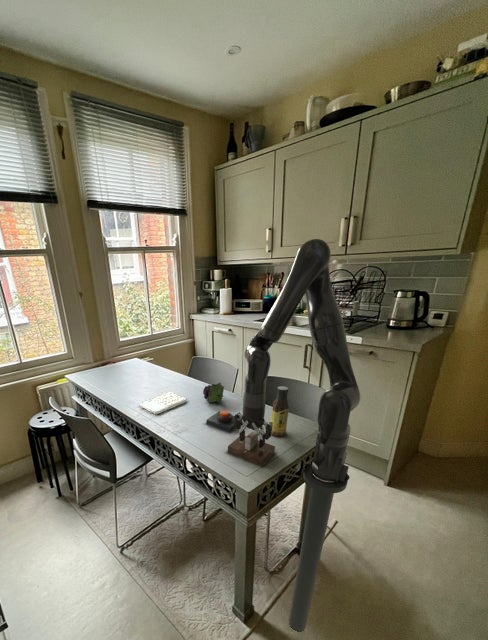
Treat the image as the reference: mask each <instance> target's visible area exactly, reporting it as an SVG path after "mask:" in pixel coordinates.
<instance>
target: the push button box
mask: <svg viewBox="0 0 488 640" xmlns="http://www.w3.org/2000/svg"><path fill="white" fill-rule="evenodd" d="M220 412H221V411H220V410H219V411H217V412H215V413H214V414H213V415H211V416H209V417H208V418H207V419H206V421H205V422H206V425H208V426H211V427H214V428H216V429H219V430H222V431H224V432H228V433H231V432H232V431H234V430H236V429H235V415H233V414H232V412H231V413H230V412H229V416H228V417H227V418H223V417H221V416H220ZM241 424H243V420H242V419H241Z"/></svg>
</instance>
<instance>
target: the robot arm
mask: <svg viewBox="0 0 488 640" xmlns="http://www.w3.org/2000/svg"><path fill="white" fill-rule="evenodd" d="M330 248H331V247H330V246H329V244H328V243H327V242H326V241H325V240H323V239H320V238H312V239H309V240H307V241H305V242H304V243H302V244H301V245H300V246H299V248H298V250H297V252H296V254H295V259H294V261H293V264H292V267H291V270H290V272H289V275H288V277H287V279H286V281H285V283H284V285H283V287H282V289H281V291H280V293H279V294H278V296H277V298H276V300H275V301H274V303H273V305H272V307H271V308H270V310H269V311H268V313H267V315H266V317H265V318H264V321H263V322H262V325H261V326H260V328H259V330H258V331H257V332H256V334H255V335H254V336H253V337H252V338H251V340H250V341H249V342H248V344H247V346H246V348H245V349H244V350H245V351H244V359H245V361H246V362H247V374H246V375H245V378H244V389H243V390H244V391H243V397H242V413H241V412H237V413H236V414H234V416H235V429H234V430H237V431H238V432H239V434H238V435H239V436H238V437H239V439H240V441H243V440H244V439H245V436H246V428H247V429H248V430H252V431H253V430H255V431H256V433H257V434H258V440H259V448H262V447H263V446H264V445H265V443H266V441H268V440H269V439H270V438H271V437H272V434H271V433H272V426H273V423H272V422H271V421H269V422H268V421H265V414H266V400H267V393H266V392H267V380H268V379H267V378H268V375H269V373H270V372H269V371H270V368H271V362H272V361H271V354H270V352H269V350H270V348H271V347H272V346H273V344H275V343H278V342H279V341H280V340H281V338H282V337H283V335H284V333H285V332H286V330H287V328H288V327H289V324H290V323H291V321H292V319H293V317H294V315H295V314H296V311H297V309H298V307H299V305H300V303H301V302H302V299H303V297H304V296H305V299H306V311H307V321H308V326H309V332H310V337H311V342H312V345H313V348H314V350H315V352H316V354H317V355H318V357H319V358H320V360H321V361H322V362H323V364H324V365H325V367H326V370H327V374H328V378H329V385H330V387H329V388H327V389H326V390H325V391H324V392H323V393H322V394H321V396H320V399H319V403H318V412H317V425H318V429H317V433H316V434H317V435H316V440H315V446H314V452H313V458H312V463H313V464H312V469H311V474H312V476H313V477H314V478H315V479H316V480H318V481H320V482H323V483H328V484H336V485H337V484H338V482H339V481H341V482H343V481H347V480H348V481H349V480H350V475H349V473H348V472H349V469H350V466H349V465H345V463H346V459H347V455H348V452H347V448H348V443H349V440H350V435H351V425H350V424H349V421H350V416H351V412H352V411H353V410H355V409H356V408H357V407H358V405H359V404H360V401H361V392H360V388H359V385H358V382H357V379H356V375H355V372H354V369H353V366H352V362H351V356H350V349H349V345H348V340H347V333H346V329H345V325H344V319H343V316H342V312H341V309H340V306H339V304H338V301H337V299H336V297H335V294H334V292H333V288H332V282H331V275H330V261H331V258H332V257H331V255H332V253H331V249H330ZM241 419H242V423H241ZM345 477H346V478H345Z"/></svg>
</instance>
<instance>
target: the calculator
mask: <svg viewBox="0 0 488 640" xmlns="http://www.w3.org/2000/svg"><path fill="white" fill-rule="evenodd" d="M186 402H187V398H185V397H184V396H181V395H178V394H177V393H175V392H172V391H170V392H169V391H168V392H167V393H162V394H160V395H158V396H156V397H153V398H150V399H148V400H146V401H142V402H141V403H140V404H139V405H140V407H141V408H143V409H145V410H146V411H148V412H150V413H152V414H154V415H158V414H161V413H163V412H166V411H168V410H170V409H171V410H172V409H173V408H176V407H178V406H180V405H183V404H185V403H186Z"/></svg>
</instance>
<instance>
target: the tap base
mask: <svg viewBox="0 0 488 640" xmlns="http://www.w3.org/2000/svg"><path fill="white" fill-rule="evenodd" d="M246 436H247V435H245V439H246ZM245 439H244V440H243V441H240V439H239V436H238V437H237V438H235V440H233V441H232V442H231V443H230V444H228V446H227V453H228V454H230V455H233V456H235V457H237V458H239V459H243V460H245V461H247V462H250V463H251V464H254V465H256V466H257V465H258V466H260V467H263V466H264V465H265V464H266V463H267V462H268V461H269V460H270V458H272V457H273V455H274V454H275V452H276V451H275V450H276V446H275V445H273V444H270V443H267V442H265V445H264V446H263V447H262V448H259V439H258V443H257V444H256V445H255V446H254V447H253V448H252V449H251V450H250V451H249V450H247V449H245Z"/></svg>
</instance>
